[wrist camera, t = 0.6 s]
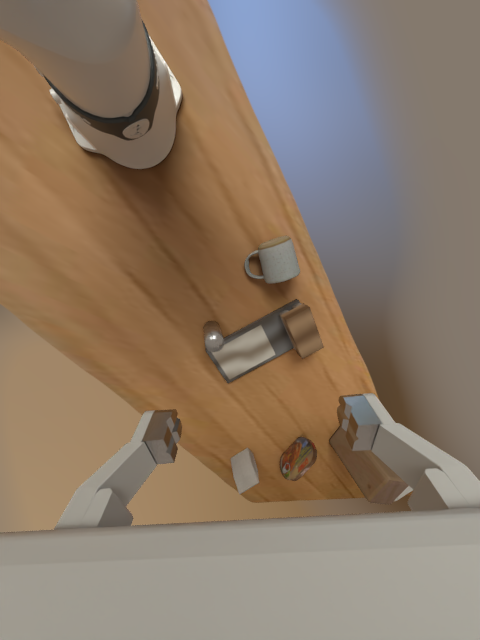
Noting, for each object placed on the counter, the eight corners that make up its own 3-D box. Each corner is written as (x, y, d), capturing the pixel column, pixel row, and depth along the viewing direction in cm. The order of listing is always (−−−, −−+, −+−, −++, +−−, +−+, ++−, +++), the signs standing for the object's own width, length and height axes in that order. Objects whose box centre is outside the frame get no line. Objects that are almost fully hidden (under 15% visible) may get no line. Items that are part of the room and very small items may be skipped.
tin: (303, 431, 73) (316, 454, 65) (309, 434, 74) (323, 457, 67) (276, 460, 76) (285, 485, 68) (282, 462, 77) (292, 487, 69)
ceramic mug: (282, 233, 47) (298, 233, 40) (291, 268, 50) (306, 274, 43) (238, 251, 47) (245, 254, 40) (249, 285, 50) (258, 294, 43)
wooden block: (327, 440, 78) (368, 504, 59) (342, 420, 75) (390, 480, 57) (346, 445, 81) (390, 506, 63) (362, 425, 78) (412, 483, 60)
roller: (200, 325, 51) (201, 340, 44) (214, 317, 51) (218, 331, 44) (208, 338, 53) (210, 355, 45) (222, 330, 53) (227, 346, 45)
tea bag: (230, 458, 71) (236, 491, 61) (247, 447, 70) (255, 479, 61) (236, 463, 72) (242, 496, 63) (253, 453, 72) (261, 484, 63)
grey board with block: (205, 348, 53) (206, 362, 47) (296, 299, 53) (309, 307, 47) (227, 380, 58) (231, 397, 53) (310, 335, 59) (323, 347, 53)
